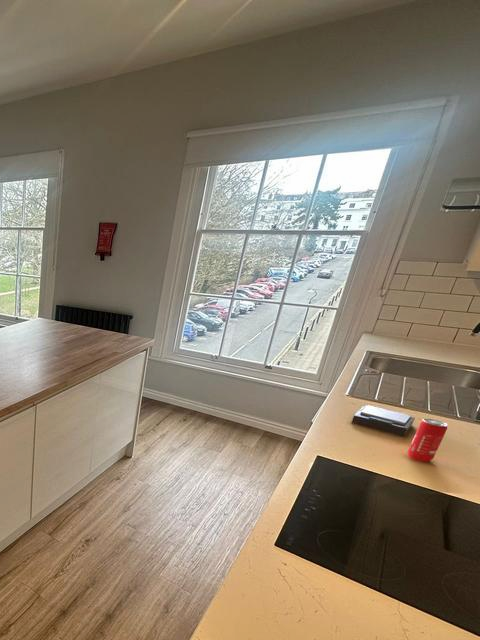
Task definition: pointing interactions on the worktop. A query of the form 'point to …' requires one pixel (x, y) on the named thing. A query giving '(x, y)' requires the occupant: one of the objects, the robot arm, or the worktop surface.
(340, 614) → the worktop surface
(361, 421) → the scale
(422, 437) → the beverage can
